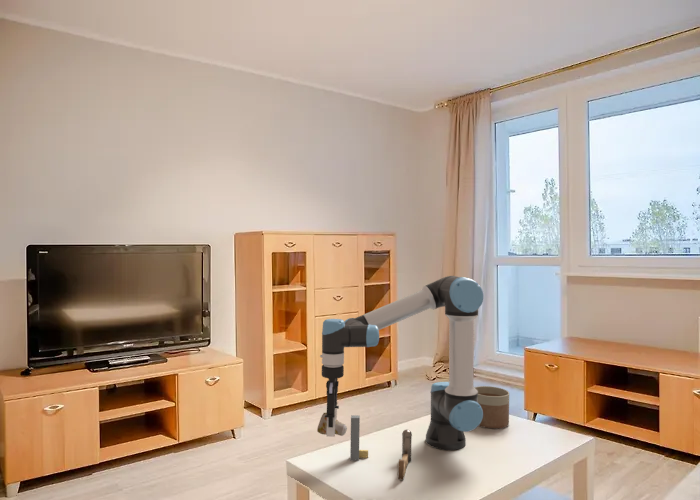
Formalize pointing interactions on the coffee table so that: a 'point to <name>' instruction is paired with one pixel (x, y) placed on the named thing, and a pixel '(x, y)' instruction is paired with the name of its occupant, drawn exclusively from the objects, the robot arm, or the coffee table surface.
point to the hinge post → (406, 443)
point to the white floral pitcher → (339, 427)
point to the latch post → (356, 440)
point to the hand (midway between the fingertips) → (331, 431)
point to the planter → (493, 406)
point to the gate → (402, 466)
